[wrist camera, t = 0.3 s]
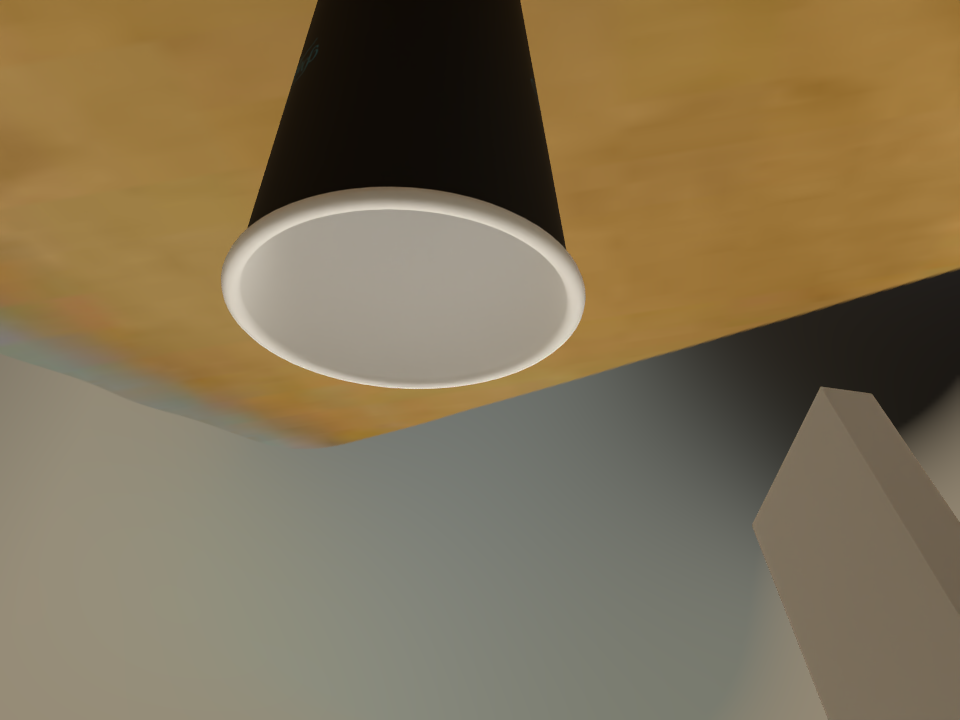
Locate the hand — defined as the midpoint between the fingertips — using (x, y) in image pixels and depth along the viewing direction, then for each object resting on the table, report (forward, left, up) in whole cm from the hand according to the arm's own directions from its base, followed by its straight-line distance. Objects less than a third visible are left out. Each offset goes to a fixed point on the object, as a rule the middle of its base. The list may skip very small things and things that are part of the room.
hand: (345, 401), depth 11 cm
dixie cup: (+5, +1, -16) cm, 17 cm away
